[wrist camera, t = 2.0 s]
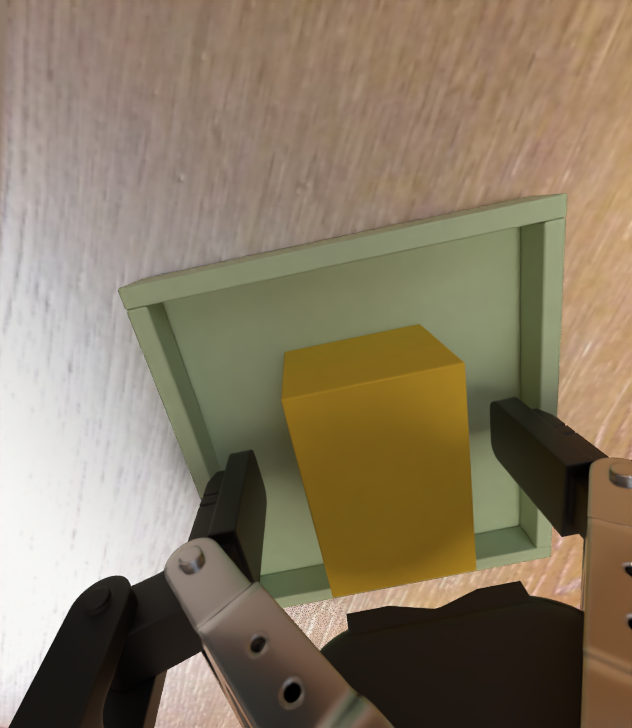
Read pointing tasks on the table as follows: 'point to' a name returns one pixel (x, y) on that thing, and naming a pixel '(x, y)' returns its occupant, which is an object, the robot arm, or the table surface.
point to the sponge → (383, 457)
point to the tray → (353, 319)
